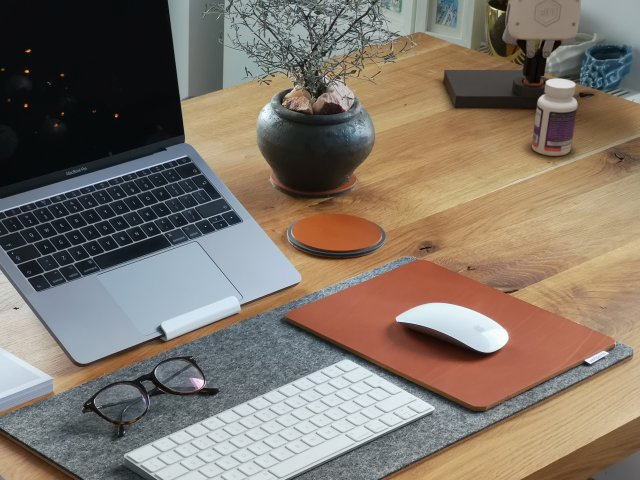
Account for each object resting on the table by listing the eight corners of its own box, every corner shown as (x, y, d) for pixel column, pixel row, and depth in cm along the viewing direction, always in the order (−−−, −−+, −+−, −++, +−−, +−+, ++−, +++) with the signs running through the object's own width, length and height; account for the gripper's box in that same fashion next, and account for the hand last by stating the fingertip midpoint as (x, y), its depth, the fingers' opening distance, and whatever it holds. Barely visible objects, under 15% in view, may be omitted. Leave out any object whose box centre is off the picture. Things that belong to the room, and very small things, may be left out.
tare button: (539, 86, 172) (541, 77, 171) (544, 93, 170) (545, 84, 169) (520, 86, 172) (521, 77, 171) (524, 93, 170) (525, 83, 169)
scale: (535, 81, 181) (538, 60, 179) (553, 110, 169) (557, 88, 168) (443, 80, 181) (445, 60, 179) (455, 109, 170) (458, 88, 168)
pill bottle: (577, 149, 157) (588, 82, 152) (558, 160, 153) (568, 92, 148) (543, 138, 160) (553, 73, 155) (523, 149, 156) (532, 83, 151)
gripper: (503, -35, 158) (488, 88, 167) (609, -35, 158) (587, 89, 167) (493, -48, 164) (479, 71, 173) (595, -48, 164) (575, 72, 173)
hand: (532, 80), depth 170 cm, fingers closed
